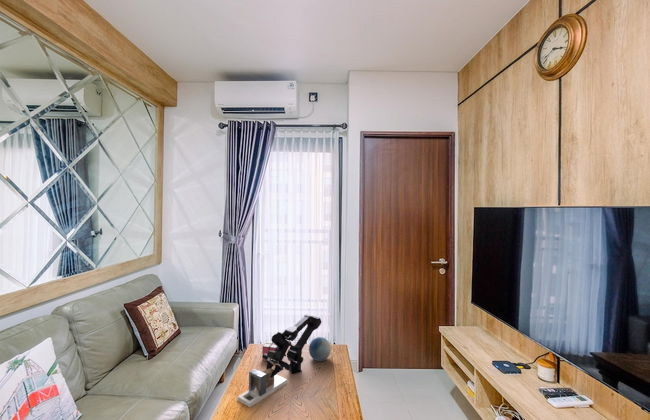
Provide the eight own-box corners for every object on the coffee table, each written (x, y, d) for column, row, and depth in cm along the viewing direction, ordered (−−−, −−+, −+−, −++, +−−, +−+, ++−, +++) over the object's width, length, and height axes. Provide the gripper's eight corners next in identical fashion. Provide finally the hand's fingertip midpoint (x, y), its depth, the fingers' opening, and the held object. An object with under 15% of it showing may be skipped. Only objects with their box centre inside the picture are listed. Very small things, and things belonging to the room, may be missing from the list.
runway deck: (275, 377, 192) (275, 373, 192) (287, 382, 186) (287, 379, 186) (237, 400, 170) (237, 396, 170) (249, 407, 164) (249, 403, 164)
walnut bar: (269, 381, 184) (269, 367, 184) (274, 383, 182) (274, 370, 182) (256, 389, 176) (256, 375, 176) (261, 391, 174) (261, 377, 174)
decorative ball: (317, 352, 224) (317, 331, 224) (335, 358, 216) (335, 337, 215) (304, 361, 212) (304, 339, 212) (322, 368, 203) (322, 345, 203)
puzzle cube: (276, 362, 209) (276, 348, 209) (262, 361, 212) (262, 346, 211) (281, 355, 219) (281, 341, 219) (267, 354, 221) (267, 340, 221)
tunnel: (254, 386, 179) (254, 368, 179) (266, 392, 173) (266, 374, 173) (248, 390, 176) (249, 371, 175) (260, 396, 170) (260, 377, 170)
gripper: (264, 340, 190) (249, 365, 182) (286, 348, 179) (272, 376, 171) (273, 347, 197) (260, 373, 188) (295, 356, 186) (282, 384, 177)
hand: (268, 376), depth 181 cm, fingers closed on walnut bar, 4 cm apart
